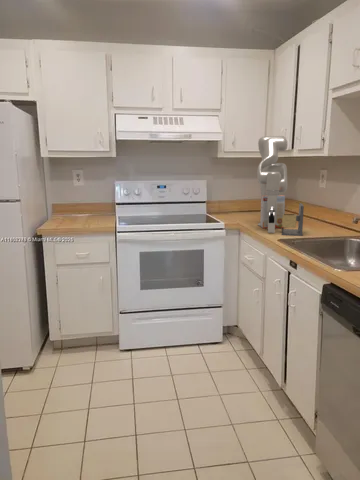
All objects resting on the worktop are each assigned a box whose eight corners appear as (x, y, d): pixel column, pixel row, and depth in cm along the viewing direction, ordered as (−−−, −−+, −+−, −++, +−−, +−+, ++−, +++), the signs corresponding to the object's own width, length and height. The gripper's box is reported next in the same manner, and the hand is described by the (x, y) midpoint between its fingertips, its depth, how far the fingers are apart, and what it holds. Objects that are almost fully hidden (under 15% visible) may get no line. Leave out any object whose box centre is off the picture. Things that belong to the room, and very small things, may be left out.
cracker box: (281, 226, 242) (282, 194, 238) (284, 228, 236) (285, 195, 232) (260, 227, 241) (261, 195, 237) (262, 228, 236) (263, 195, 232)
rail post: (267, 231, 225) (268, 208, 222) (274, 231, 224) (275, 208, 221) (267, 232, 221) (268, 209, 218) (274, 232, 220) (275, 209, 217)
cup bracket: (281, 230, 227) (282, 203, 224) (300, 231, 224) (302, 203, 221) (281, 235, 212) (282, 205, 209) (302, 235, 209) (304, 206, 206)
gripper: (266, 192, 227) (265, 219, 230) (265, 194, 211) (264, 223, 214) (279, 192, 225) (278, 220, 228) (279, 194, 209) (278, 224, 212)
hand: (271, 221), depth 221 cm, fingers open, 9 cm apart
